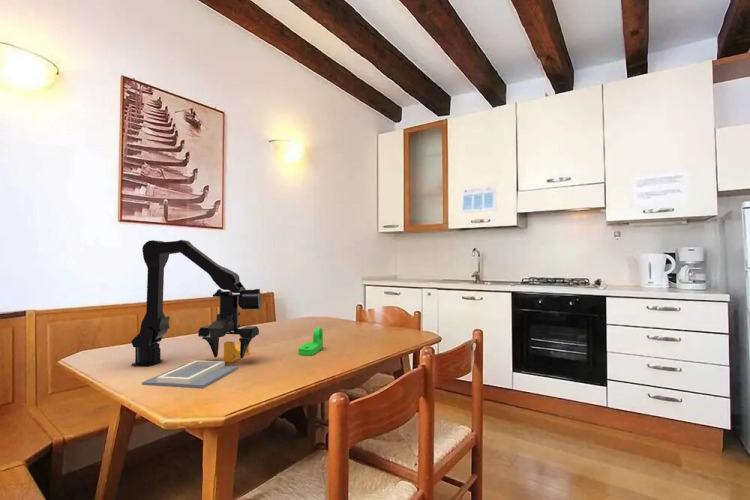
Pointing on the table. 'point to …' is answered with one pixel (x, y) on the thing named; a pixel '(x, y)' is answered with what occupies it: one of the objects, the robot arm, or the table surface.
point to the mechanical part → (313, 343)
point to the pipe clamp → (233, 351)
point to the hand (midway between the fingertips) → (228, 357)
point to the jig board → (192, 374)
